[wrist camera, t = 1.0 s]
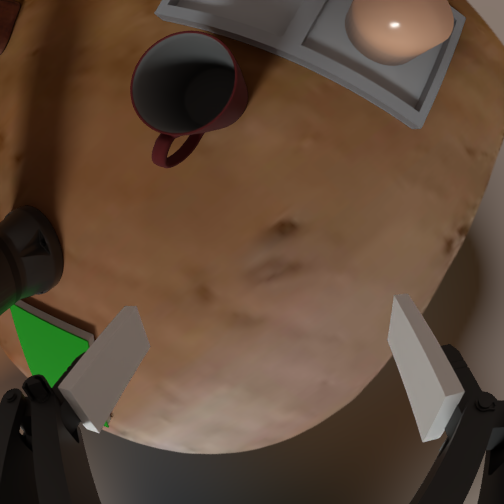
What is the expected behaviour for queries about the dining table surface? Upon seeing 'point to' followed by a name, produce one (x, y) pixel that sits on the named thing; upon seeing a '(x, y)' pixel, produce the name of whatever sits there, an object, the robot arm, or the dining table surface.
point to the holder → (324, 47)
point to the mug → (187, 91)
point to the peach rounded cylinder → (397, 28)
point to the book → (48, 342)
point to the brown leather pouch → (7, 20)
